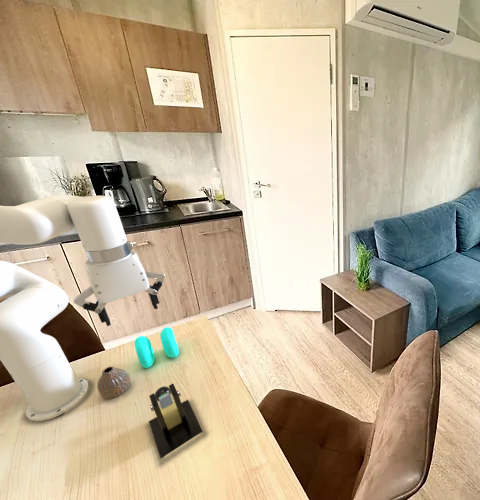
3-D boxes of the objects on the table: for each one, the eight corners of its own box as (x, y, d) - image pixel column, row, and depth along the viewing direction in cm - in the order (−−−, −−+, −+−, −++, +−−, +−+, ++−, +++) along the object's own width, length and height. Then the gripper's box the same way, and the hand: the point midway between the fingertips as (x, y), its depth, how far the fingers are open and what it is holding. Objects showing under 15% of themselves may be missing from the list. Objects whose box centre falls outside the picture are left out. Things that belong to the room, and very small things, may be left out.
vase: (117, 405, 76) (105, 382, 73) (96, 401, 78) (84, 377, 74) (139, 384, 83) (129, 362, 79) (119, 380, 84) (109, 358, 80)
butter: (161, 417, 72) (158, 410, 71) (178, 407, 75) (175, 400, 74) (166, 431, 69) (163, 424, 68) (184, 420, 71) (181, 413, 70)
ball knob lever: (157, 403, 74) (152, 390, 74) (172, 395, 77) (167, 382, 77) (160, 413, 64) (154, 398, 64) (177, 404, 66) (172, 389, 66)
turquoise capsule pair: (142, 356, 92) (132, 332, 88) (176, 343, 98) (169, 320, 94) (144, 376, 85) (134, 351, 81) (181, 361, 91) (174, 336, 87)
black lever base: (150, 424, 72) (135, 390, 67) (188, 402, 77) (177, 369, 72) (162, 462, 64) (146, 426, 59) (203, 434, 69) (192, 400, 64)
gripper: (150, 238, 71) (168, 295, 78) (56, 258, 60) (86, 322, 67) (157, 246, 66) (175, 307, 73) (56, 270, 56) (88, 338, 63)
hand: (132, 314), depth 70 cm, fingers open, 9 cm apart
